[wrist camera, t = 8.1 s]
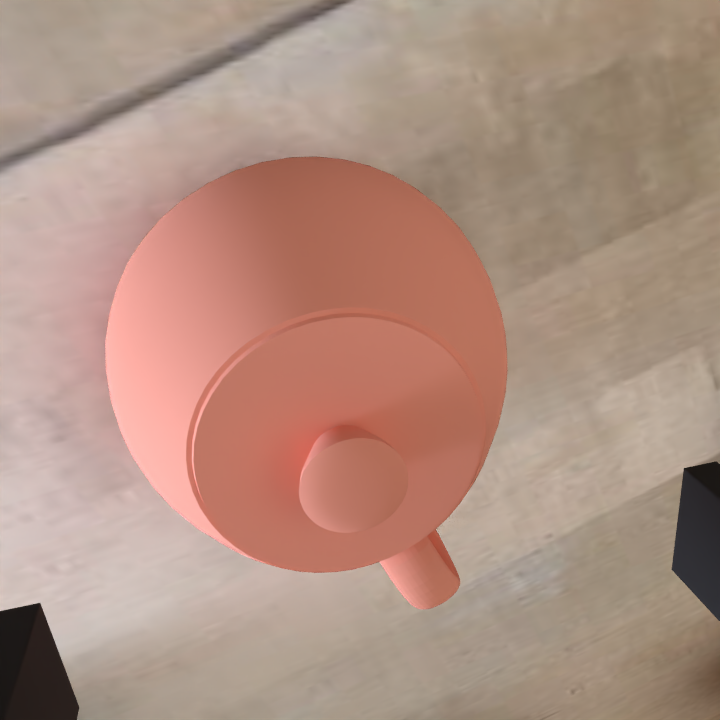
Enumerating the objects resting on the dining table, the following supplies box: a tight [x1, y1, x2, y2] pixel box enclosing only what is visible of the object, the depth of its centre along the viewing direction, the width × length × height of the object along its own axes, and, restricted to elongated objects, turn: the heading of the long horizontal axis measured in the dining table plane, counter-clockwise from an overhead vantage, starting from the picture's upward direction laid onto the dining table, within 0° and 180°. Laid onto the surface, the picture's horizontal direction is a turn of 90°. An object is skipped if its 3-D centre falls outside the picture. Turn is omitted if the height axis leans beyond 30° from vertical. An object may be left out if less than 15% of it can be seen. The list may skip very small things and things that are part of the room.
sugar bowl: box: [105, 157, 507, 609], centre depth 20 cm, size 12×14×10 cm
